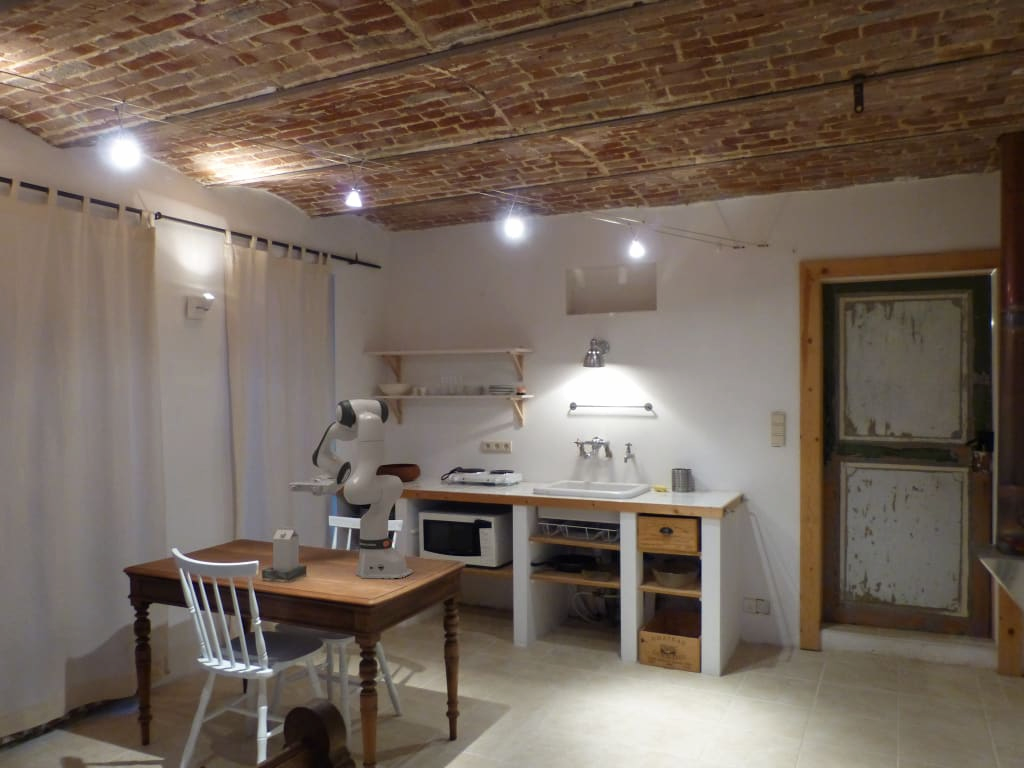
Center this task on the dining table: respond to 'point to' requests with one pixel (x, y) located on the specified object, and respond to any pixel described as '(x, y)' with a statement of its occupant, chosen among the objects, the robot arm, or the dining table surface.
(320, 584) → the dining table surface
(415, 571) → the dining table surface
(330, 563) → the dining table surface
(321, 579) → the dining table surface
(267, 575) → the square glass ashtray
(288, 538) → the milk carton
